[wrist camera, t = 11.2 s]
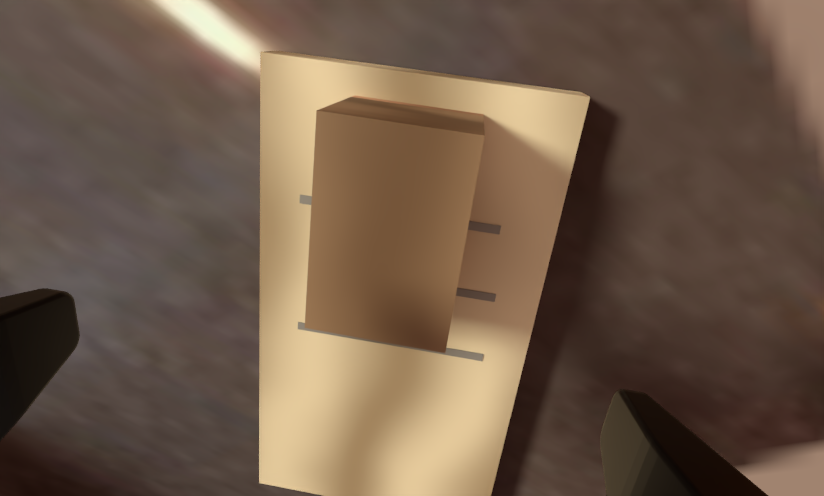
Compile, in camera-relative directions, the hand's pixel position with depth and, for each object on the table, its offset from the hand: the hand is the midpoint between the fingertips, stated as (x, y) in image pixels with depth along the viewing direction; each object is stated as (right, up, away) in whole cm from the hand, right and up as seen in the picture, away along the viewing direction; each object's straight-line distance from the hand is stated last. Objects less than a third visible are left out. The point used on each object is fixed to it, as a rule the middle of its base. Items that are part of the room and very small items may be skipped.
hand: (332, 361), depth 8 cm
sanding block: (+1, +3, +8) cm, 9 cm away
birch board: (+1, -1, +12) cm, 12 cm away
